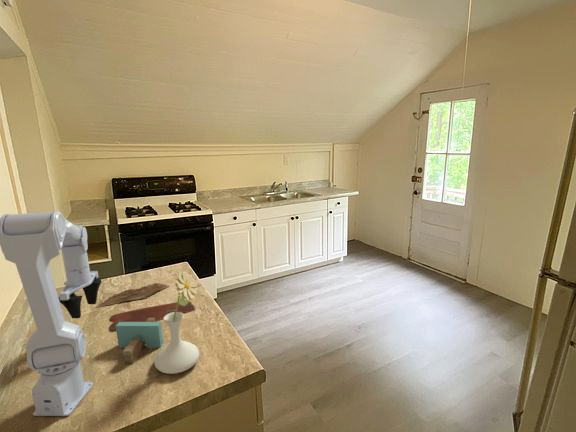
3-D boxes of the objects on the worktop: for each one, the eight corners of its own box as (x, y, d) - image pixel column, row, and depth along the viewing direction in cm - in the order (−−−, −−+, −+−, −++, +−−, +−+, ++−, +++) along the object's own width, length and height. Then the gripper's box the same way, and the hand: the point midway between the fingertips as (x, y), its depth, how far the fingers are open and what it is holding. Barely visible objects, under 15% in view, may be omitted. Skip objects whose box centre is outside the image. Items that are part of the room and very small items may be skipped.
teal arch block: (163, 343, 95) (160, 321, 93) (160, 347, 93) (158, 325, 91) (122, 343, 95) (119, 321, 93) (118, 347, 93) (115, 325, 91)
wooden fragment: (164, 281, 135) (164, 279, 135) (173, 291, 126) (173, 289, 126) (93, 300, 120) (93, 297, 120) (98, 313, 111) (97, 310, 111)
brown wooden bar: (132, 364, 86) (130, 351, 85) (124, 364, 86) (122, 351, 85) (156, 329, 102) (154, 317, 101) (149, 329, 102) (148, 317, 101)
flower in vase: (174, 385, 79) (165, 291, 73) (145, 367, 85) (135, 279, 79) (213, 355, 90) (208, 271, 84) (185, 341, 96) (178, 262, 90)
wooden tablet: (109, 335, 100) (109, 330, 99) (109, 318, 108) (109, 314, 108) (197, 313, 112) (196, 308, 111) (190, 300, 120) (190, 296, 120)
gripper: (79, 257, 98) (85, 298, 102) (44, 278, 84) (53, 324, 87) (102, 257, 98) (108, 298, 102) (71, 278, 84) (79, 324, 87)
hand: (84, 310), depth 94 cm, fingers open, 7 cm apart
